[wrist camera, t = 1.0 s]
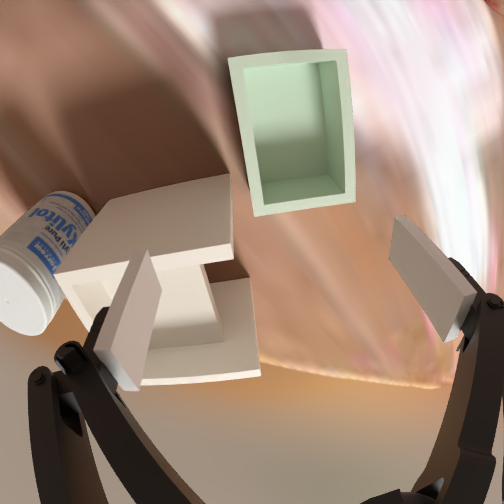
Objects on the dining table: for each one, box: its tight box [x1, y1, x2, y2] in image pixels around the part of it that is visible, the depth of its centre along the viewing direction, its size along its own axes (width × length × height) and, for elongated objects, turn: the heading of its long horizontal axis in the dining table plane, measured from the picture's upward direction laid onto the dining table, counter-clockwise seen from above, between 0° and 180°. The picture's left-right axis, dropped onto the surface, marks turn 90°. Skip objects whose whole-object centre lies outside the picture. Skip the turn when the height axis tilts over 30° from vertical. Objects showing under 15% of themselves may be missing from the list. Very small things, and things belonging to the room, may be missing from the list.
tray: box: [228, 49, 355, 217], centre depth 25 cm, size 10×14×6 cm
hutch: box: [53, 173, 261, 385], centre depth 29 cm, size 15×14×14 cm
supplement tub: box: [0, 191, 96, 336], centre depth 25 cm, size 10×10×15 cm
